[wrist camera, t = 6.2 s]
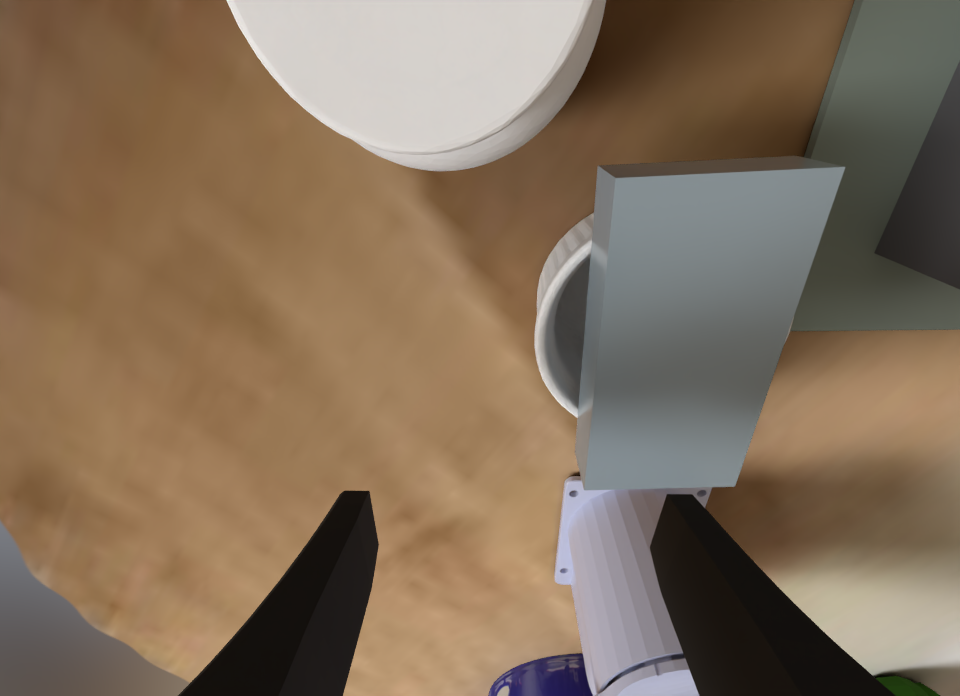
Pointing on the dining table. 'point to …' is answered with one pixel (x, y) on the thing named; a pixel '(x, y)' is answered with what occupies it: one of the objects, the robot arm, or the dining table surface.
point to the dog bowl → (545, 678)
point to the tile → (691, 312)
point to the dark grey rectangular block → (931, 200)
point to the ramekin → (565, 314)
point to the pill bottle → (426, 69)
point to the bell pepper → (906, 687)
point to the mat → (879, 166)
